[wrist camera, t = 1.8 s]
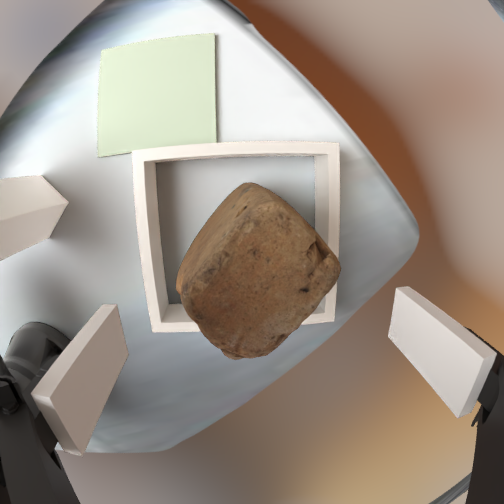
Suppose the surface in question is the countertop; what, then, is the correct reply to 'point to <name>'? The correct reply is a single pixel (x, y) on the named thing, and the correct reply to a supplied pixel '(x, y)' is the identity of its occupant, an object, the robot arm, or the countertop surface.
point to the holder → (145, 160)
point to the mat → (157, 94)
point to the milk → (27, 212)
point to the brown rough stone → (254, 273)
